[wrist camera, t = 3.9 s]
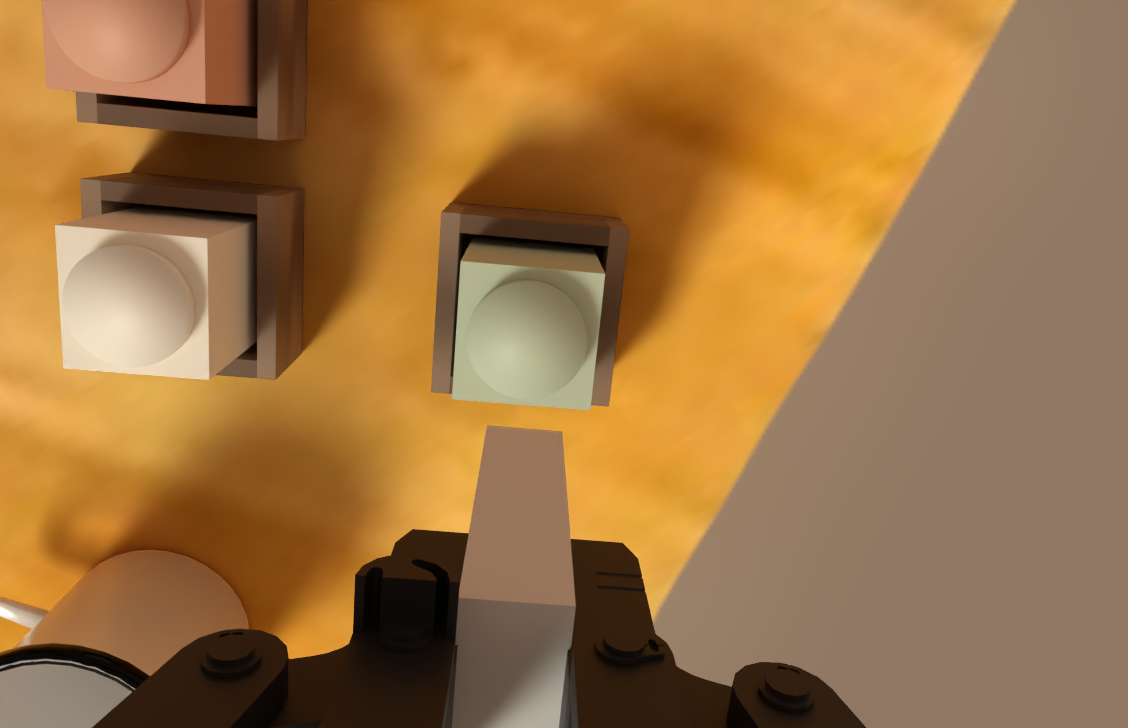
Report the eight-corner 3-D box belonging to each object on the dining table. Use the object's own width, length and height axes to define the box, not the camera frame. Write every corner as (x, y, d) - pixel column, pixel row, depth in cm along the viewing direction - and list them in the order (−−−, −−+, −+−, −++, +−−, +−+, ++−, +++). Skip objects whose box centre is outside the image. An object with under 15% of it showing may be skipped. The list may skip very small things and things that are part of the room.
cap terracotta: (127, -45, 31) (25, -87, 25) (263, -31, 32) (195, -69, 25) (132, 93, 33) (36, 87, 26) (263, 106, 33) (198, 103, 27)
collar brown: (120, -70, 33) (66, -96, 29) (308, -50, 33) (279, -73, 30) (127, 121, 35) (77, 121, 31) (305, 138, 35) (277, 140, 31)
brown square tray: (451, 202, 36) (441, 212, 32) (619, 217, 37) (629, 229, 33) (441, 364, 38) (431, 392, 34) (601, 377, 38) (608, 406, 35)
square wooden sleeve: (129, 172, 35) (80, 178, 32) (304, 188, 36) (277, 196, 32) (135, 339, 37) (89, 364, 33) (302, 353, 38) (275, 379, 34)
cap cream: (136, 207, 34) (45, 227, 27) (262, 218, 34) (200, 240, 28) (140, 327, 35) (54, 373, 29) (262, 337, 35) (202, 385, 29)
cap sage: (472, 237, 35) (459, 263, 28) (593, 248, 35) (606, 277, 28) (465, 354, 36) (450, 404, 29) (581, 364, 36) (591, 415, 30)
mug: (291, 579, 41) (225, 705, 32) (226, 738, 43) (148, 897, 34) (34, 484, 39) (-110, 589, 30) (-20, 655, 41) (-169, 799, 32)
